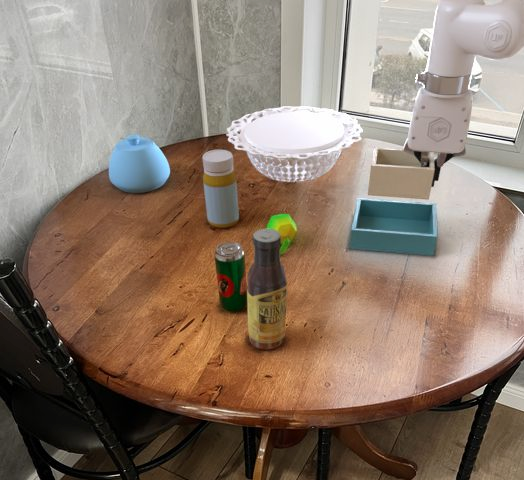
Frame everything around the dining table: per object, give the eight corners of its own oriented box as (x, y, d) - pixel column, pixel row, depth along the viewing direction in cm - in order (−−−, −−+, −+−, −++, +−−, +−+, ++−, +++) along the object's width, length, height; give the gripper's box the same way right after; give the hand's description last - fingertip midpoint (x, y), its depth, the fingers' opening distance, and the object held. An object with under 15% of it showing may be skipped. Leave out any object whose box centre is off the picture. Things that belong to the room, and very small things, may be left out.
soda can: (248, 312, 96) (244, 255, 88) (220, 315, 96) (213, 257, 88) (247, 295, 100) (243, 239, 92) (219, 297, 100) (213, 241, 92)
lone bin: (428, 179, 109) (434, 150, 104) (428, 199, 103) (434, 169, 98) (370, 176, 111) (374, 147, 107) (367, 195, 105) (371, 165, 100)
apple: (273, 201, 111) (291, 221, 105) (295, 215, 115) (313, 234, 108) (253, 229, 113) (269, 250, 107) (275, 242, 117) (291, 263, 111)
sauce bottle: (261, 357, 88) (256, 252, 74) (241, 336, 92) (233, 233, 78) (294, 342, 90) (295, 238, 77) (274, 322, 94) (271, 220, 81)
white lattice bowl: (378, 200, 125) (385, 146, 116) (245, 221, 120) (242, 166, 111) (332, 147, 148) (334, 99, 139) (219, 163, 143) (214, 114, 134)
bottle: (242, 214, 122) (237, 149, 112) (235, 230, 117) (230, 163, 107) (212, 212, 124) (205, 148, 113) (204, 228, 119) (196, 162, 108)
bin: (432, 221, 117) (436, 203, 114) (433, 256, 107) (437, 236, 104) (355, 216, 120) (357, 197, 117) (349, 248, 110) (351, 229, 107)
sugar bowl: (99, 190, 134) (88, 144, 126) (131, 166, 144) (122, 121, 136) (152, 199, 129) (144, 151, 122) (181, 173, 140) (175, 127, 132)
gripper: (400, 87, 91) (386, 189, 104) (495, 91, 88) (469, 195, 101) (401, 74, 96) (388, 172, 109) (491, 77, 94) (467, 177, 106)
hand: (427, 183), depth 105 cm, fingers closed on lone bin, 1 cm apart
